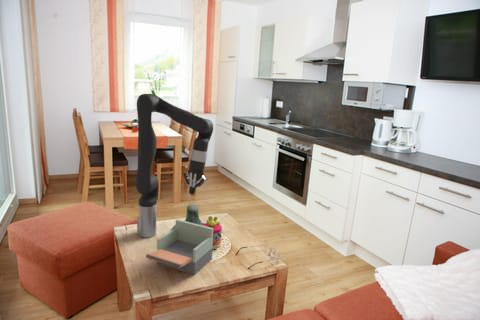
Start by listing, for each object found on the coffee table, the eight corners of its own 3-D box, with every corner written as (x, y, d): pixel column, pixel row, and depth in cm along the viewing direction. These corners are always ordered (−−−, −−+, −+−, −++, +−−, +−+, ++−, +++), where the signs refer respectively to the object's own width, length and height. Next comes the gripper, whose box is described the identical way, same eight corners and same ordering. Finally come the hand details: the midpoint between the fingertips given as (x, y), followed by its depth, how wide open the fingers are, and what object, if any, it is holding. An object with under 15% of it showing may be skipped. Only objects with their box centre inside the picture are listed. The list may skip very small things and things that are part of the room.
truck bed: (176, 248, 171) (177, 219, 168) (211, 259, 164) (213, 228, 160) (157, 263, 157) (157, 231, 154) (194, 275, 149) (195, 241, 146)
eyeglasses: (282, 263, 165) (283, 254, 164) (249, 270, 157) (249, 261, 155) (265, 248, 179) (266, 239, 178) (233, 254, 170) (234, 245, 169)
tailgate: (160, 248, 155) (146, 254, 146) (192, 258, 149) (179, 264, 139) (159, 251, 155) (145, 257, 146) (192, 261, 149) (179, 268, 139)
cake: (223, 249, 175) (225, 221, 171) (204, 251, 171) (205, 223, 167) (217, 240, 184) (218, 214, 181) (198, 242, 180) (199, 215, 177)
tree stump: (202, 221, 208) (206, 197, 200) (208, 243, 191) (213, 217, 184) (171, 222, 202) (174, 196, 194) (175, 244, 185) (179, 217, 178)
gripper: (182, 156, 164) (176, 191, 166) (205, 162, 158) (198, 198, 160) (191, 156, 171) (185, 190, 172) (213, 162, 165) (207, 197, 167)
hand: (191, 194), depth 166 cm, fingers closed
